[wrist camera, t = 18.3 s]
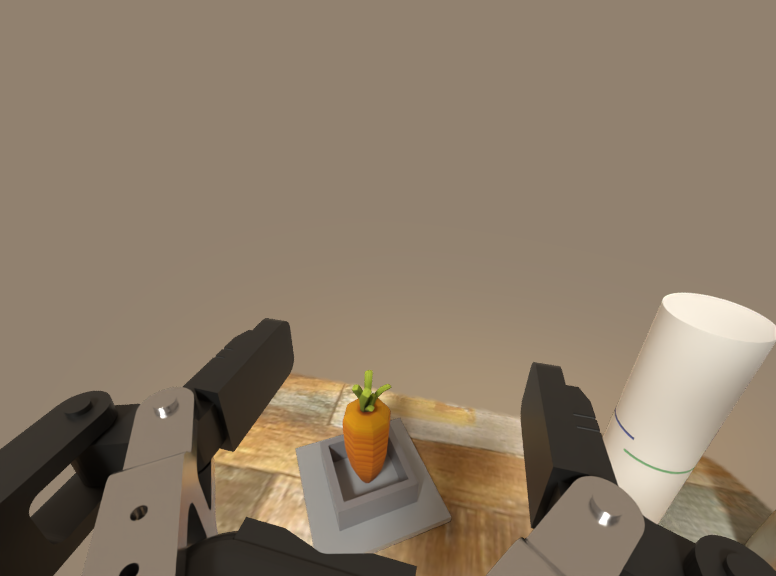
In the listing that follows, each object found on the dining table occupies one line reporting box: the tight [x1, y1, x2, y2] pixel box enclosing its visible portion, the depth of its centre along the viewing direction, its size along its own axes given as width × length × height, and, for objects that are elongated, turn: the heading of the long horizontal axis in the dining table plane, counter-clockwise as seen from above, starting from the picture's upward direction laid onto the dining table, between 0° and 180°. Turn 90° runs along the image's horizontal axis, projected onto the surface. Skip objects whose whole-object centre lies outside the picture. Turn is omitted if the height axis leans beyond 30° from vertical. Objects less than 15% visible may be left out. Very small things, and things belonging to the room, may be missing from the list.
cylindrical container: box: [603, 293, 776, 524], centre depth 34 cm, size 7×7×25 cm
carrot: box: [343, 370, 391, 483], centre depth 38 cm, size 5×5×15 cm
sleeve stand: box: [296, 418, 451, 554], centre depth 41 cm, size 14×14×4 cm
